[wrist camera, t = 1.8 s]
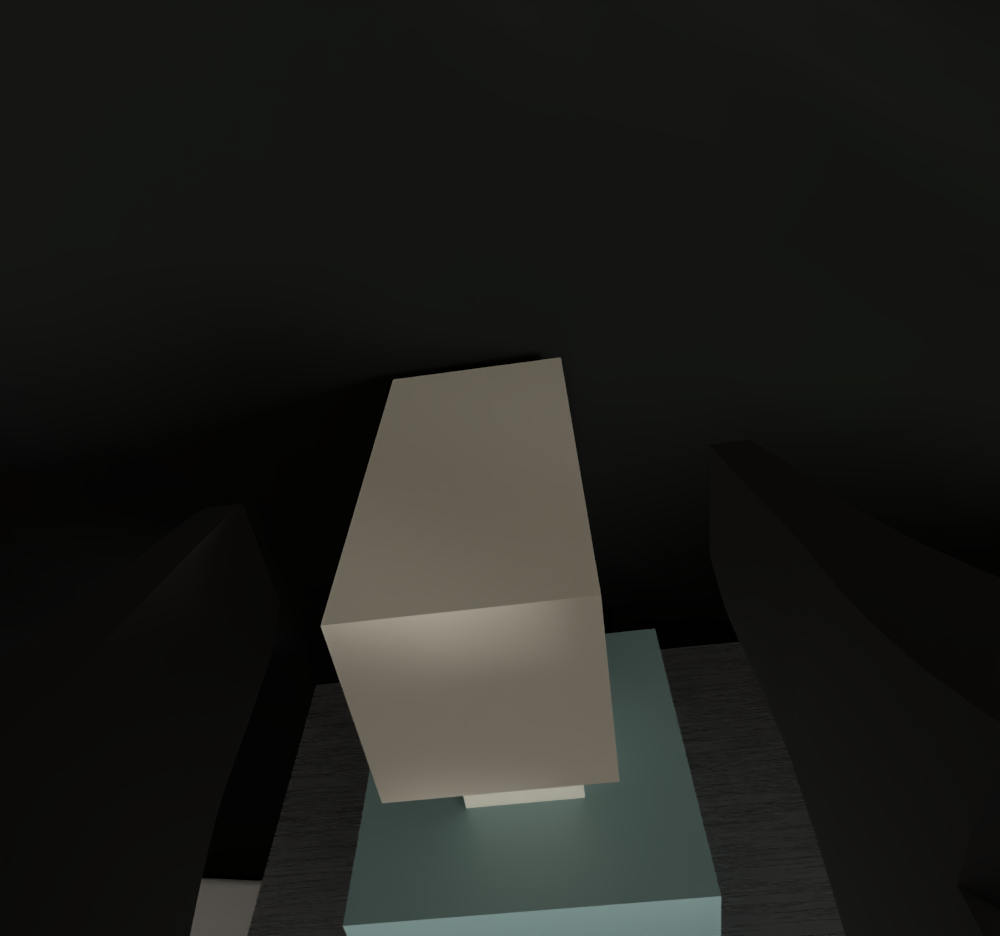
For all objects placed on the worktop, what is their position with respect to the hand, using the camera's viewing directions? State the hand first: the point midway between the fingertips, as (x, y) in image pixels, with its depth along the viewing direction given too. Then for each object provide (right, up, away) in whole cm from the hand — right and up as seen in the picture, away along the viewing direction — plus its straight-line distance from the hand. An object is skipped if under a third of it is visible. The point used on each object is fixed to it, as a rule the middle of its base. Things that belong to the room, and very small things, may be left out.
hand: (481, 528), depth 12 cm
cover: (+1, -4, +6) cm, 7 cm away
